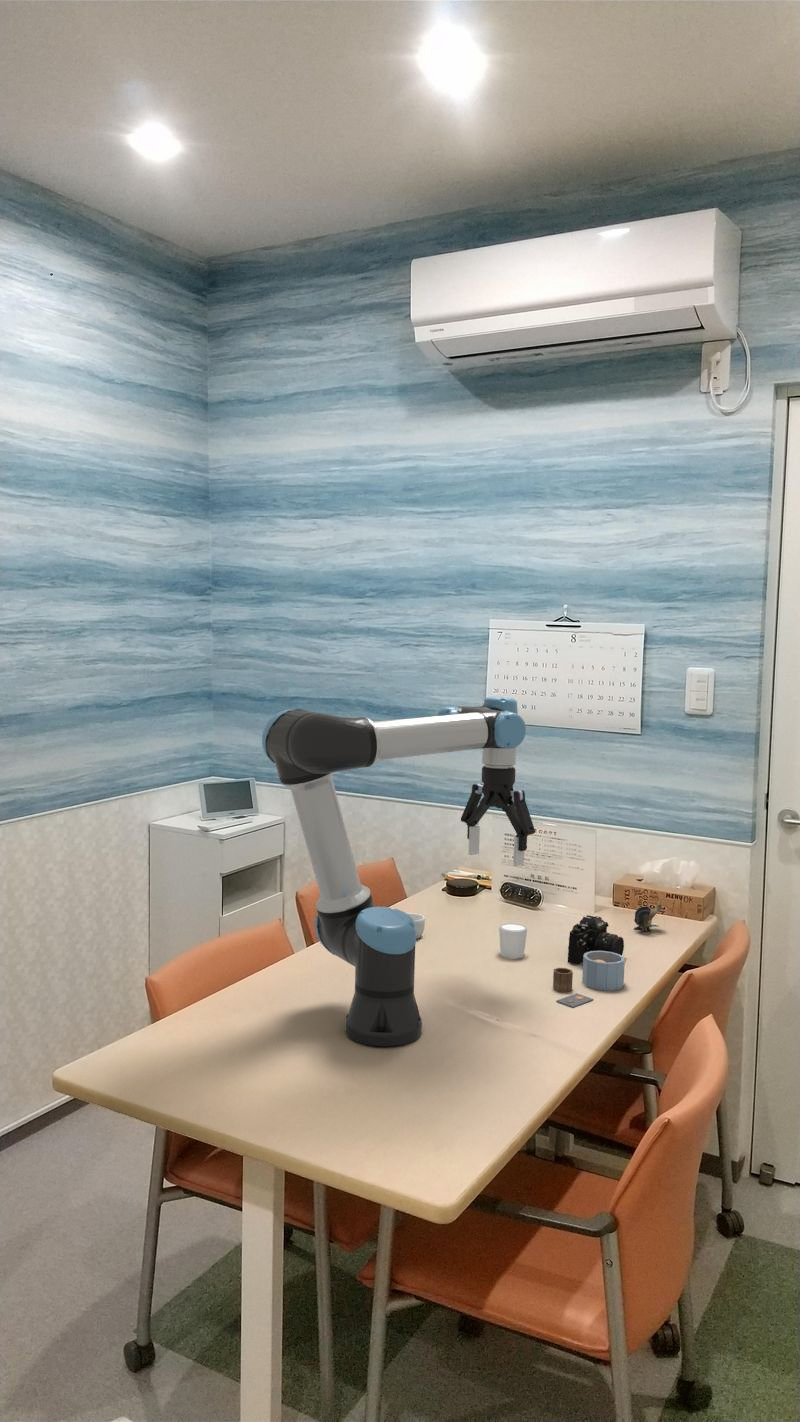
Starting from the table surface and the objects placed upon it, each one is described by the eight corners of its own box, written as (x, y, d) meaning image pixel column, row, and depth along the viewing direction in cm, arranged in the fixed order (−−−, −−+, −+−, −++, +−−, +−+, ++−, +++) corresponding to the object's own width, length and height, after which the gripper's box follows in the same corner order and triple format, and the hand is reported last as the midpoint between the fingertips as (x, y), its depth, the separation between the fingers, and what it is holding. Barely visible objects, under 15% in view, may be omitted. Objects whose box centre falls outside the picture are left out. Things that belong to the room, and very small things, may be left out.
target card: (572, 1007, 205) (573, 1005, 205) (556, 1001, 209) (556, 1000, 209) (593, 1000, 210) (593, 998, 210) (576, 994, 213) (576, 992, 213)
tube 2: (607, 993, 215) (608, 966, 214) (574, 982, 221) (575, 955, 221) (631, 984, 221) (632, 958, 220) (598, 974, 227) (599, 948, 227)
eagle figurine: (653, 942, 253) (655, 908, 252) (627, 937, 257) (628, 903, 256) (663, 936, 259) (665, 902, 258) (637, 931, 263) (639, 897, 262)
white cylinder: (527, 960, 236) (529, 931, 235) (499, 959, 236) (500, 930, 236) (524, 951, 243) (525, 923, 242) (496, 950, 243) (497, 922, 242)
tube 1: (563, 993, 214) (564, 975, 214) (549, 988, 217) (550, 970, 217) (575, 989, 217) (576, 971, 216) (561, 984, 220) (561, 966, 219)
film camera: (618, 973, 228) (620, 931, 228) (565, 966, 232) (566, 925, 231) (626, 951, 245) (628, 912, 244) (576, 945, 249) (578, 906, 248)
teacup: (405, 931, 257) (405, 911, 257) (430, 936, 253) (430, 916, 253) (383, 940, 249) (383, 919, 249) (408, 946, 245) (409, 924, 244)
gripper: (553, 771, 214) (549, 867, 216) (470, 759, 233) (467, 848, 234) (530, 773, 209) (527, 872, 211) (447, 761, 228) (444, 851, 229)
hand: (495, 859), depth 222 cm, fingers open, 13 cm apart
